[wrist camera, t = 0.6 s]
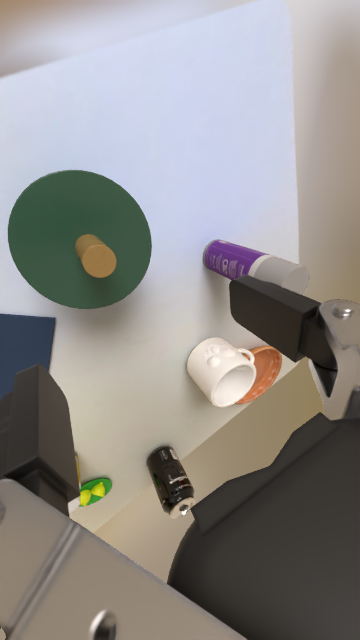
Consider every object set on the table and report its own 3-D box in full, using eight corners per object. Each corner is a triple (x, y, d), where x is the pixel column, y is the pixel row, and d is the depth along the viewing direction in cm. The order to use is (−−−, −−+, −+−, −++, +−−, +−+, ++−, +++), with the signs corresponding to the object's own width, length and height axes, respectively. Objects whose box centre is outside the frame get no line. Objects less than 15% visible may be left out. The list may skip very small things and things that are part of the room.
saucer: (212, 370, 50) (220, 379, 47) (269, 328, 52) (279, 334, 50) (229, 406, 60) (236, 415, 57) (276, 369, 62) (285, 376, 60)
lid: (5, 296, 19) (-5, 328, 15) (13, 141, 16) (3, 125, 11) (132, 310, 26) (151, 335, 21) (160, 200, 22) (190, 204, 18)
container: (198, 251, 35) (275, 283, 24) (221, 233, 36) (308, 256, 24) (209, 275, 38) (282, 314, 27) (230, 257, 39) (312, 289, 27)
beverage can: (156, 467, 56) (178, 522, 47) (138, 461, 52) (160, 520, 43) (177, 447, 57) (203, 498, 48) (161, 439, 53) (187, 493, 43)
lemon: (92, 472, 47) (95, 486, 44) (118, 479, 52) (122, 492, 50) (61, 500, 46) (62, 516, 44) (90, 505, 51) (92, 519, 49)
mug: (232, 318, 45) (267, 342, 38) (236, 355, 51) (267, 382, 44) (178, 347, 42) (206, 379, 35) (189, 383, 48) (214, 417, 41)
